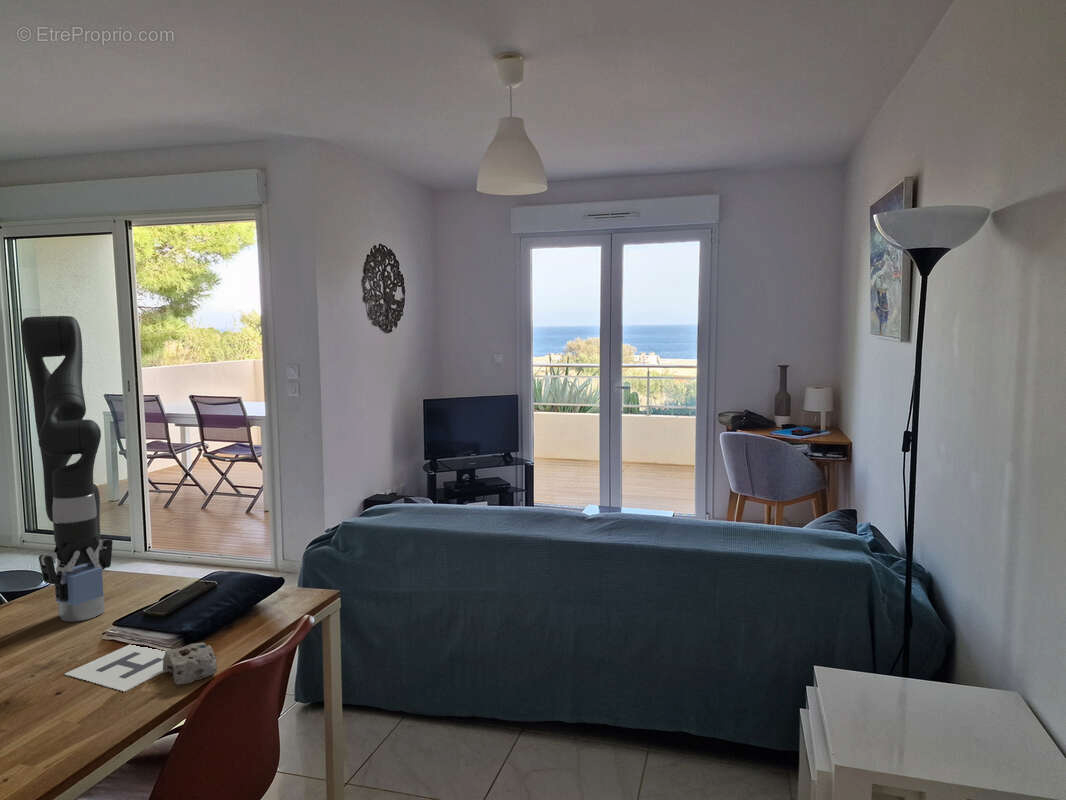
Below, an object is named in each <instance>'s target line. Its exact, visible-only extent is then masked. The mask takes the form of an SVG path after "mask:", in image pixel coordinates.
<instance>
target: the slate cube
mask: <svg viewBox="0 0 1066 800" xmlns="http://www.w3.org/2000/svg"><path fill="white" fill-rule="evenodd" d="M102 574H103V571H102V568H99V567H95V568H94V567H93V566H87V565H84V564H83V565H80V566H76V567H74V568H73V571H72V572H71V573H70V574H69V575H68V576H67V582H66V584H67V586H68V601H66V602H62V601H59V599H57V598H56V597H55V602H57V603H58V602H61V603H65V604H69V605H73V606H75V605H78V604H81V603H84V602H87V601H90V600H93V599H96V598H99V597H102V596H103V591H104V579H103V580H102ZM61 575H62V574H61ZM54 592H55V595H56V590H55V589H54Z"/></svg>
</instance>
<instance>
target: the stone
mask: <svg viewBox="0 0 1066 800" xmlns="http://www.w3.org/2000/svg"><path fill="white" fill-rule="evenodd" d="M165 650H166V651H165V656H164V657H163V671H165V672H164V673H173V674H172V678H173V681H174V684H175V685H177V686H179V685H184V684H190V683H193V682H195V681H196V680H197V681H200V680H202V679H204V678H207V677H210V676H213V675H214V674H216V673H217V672H218V664H217V662H218V660H217V658H216V656H215V653H214V650H213V648H212V646H211V645H209V644H208V645H207V643H205V642H202V641H201V642H198V643H197V642H196V643H190V644H188V645H184V646H182V647H179V648H174V649H165Z"/></svg>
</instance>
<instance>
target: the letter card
mask: <svg viewBox="0 0 1066 800" xmlns="http://www.w3.org/2000/svg"><path fill="white" fill-rule="evenodd" d="M131 644H132V643H130V644H127V645H126V646H122V647H121V648H119V649H117V650H114V651H112V652H110V653H108V654H106V655H103V656H101V657H98V658H97V659H94V660H92V661H90V662H88V663H86V664H83V665H81V666H78V667H76V668H74V669H72V670H69V671H68V672H65V673H63V674H64V676H67V677H70V676H71V678H74V677H75V679H77V678H78V680H81V679H82V680H81V681H84V680H86V681H85V682H88V681H89V682H88V683H91V682H92V684H95V683H96V684H95V685H98V684H99V686H101V685H102V687H105V688H109V689H112V688H113V689H112V690H115V689H116V691H119V690H120V691H119V692H122V691H123V693H126V692H128V691H129V690H131V689H134V688H135V686H136V687H138V686H140V685H142V684H143V682H144V683H146V682H148V681H150V680H151V679H153V678H155V677H157V676H159V675H162V674H163V673H166V672H165V671H163V657H164V656H165V651H161V650H158V649H152V648H148V647H140V646H136V645H131ZM149 679H150V680H149ZM147 680H148V681H147ZM145 681H146V682H145ZM141 683H142V684H141ZM139 684H140V685H139ZM125 691H126V692H125Z"/></svg>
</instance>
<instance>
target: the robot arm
mask: <svg viewBox="0 0 1066 800" xmlns="http://www.w3.org/2000/svg"><path fill="white" fill-rule="evenodd" d="M20 329H21V331H20V332H21V340H22V345H23V349H24V354H25V360H26V363H27V369H28V373H29V378H30V384H31V390H32V398H33V399H32V400H33V410H34V411H33V412H34V417H35V418H34V419H35V427H36V433H37V438H38V446H39V449H40V455H41V461H42V470H43V471H42V472H43V485H44V487H43V489H44V503H45V511H46V515H47V518H48V519H49V521H50V522H51V523H53V525H52V526H53V541H54V542H55V548H54V549H53V552H50V553H48V554H40V555H39V556H38V562H39V566H40V571H41V575H42V580H43V582H44V583H46V584H51V585H54V591H55V590H56V594H55V599H56V598H57V599H59V601H62V602H66V601H68V586H67V584H66V582H67V576H68V575H69V574H70V573H71V572H72V571H73V568H74V567H76V566H80V565H83V564H84V565H87V566H93V567H94V568H95V567H99V568H102V572H103V571H104V570H105V569H107V568H108V569H109V568H110V567H111V564H112V555H113V553H112V552H113V540H112V539H109V538H101V522H100V521H101V518H100V517H101V516H100V515H101V514H100V510H101V500H100V499H101V498H100V497H101V496H100V491H99V488H98V486H97V485H96V484H95V483H94V467H95V462H96V456H97V453H98V449H99V447H100V442H101V440H102V439H101V438H102V431H101V428H100V426H99V424H98V423H96V422H95V421H94V420H92V419H84V417H85V415H86V412H87V408H86V407H87V406H86V401H85V394H84V390H83V389H84V388H83V363H84V361H83V359H84V358H83V339H82V337H83V336H82V331H81V327H80V324H79V322H78V320H77V318H75V317H73V316H70V315H48V316H47V315H46V316H45V315H43V316H41V315H40V316H29V317H24V319H23V320H22V322H21V325H20ZM53 357H64V358H63V360H62V361H61V363H60V364H59V365H58V366H57V367H56V368H55V370H53V371H52V373H51V372H50V371H49V369H48V367H47V365H46V364H45V361H44V358H53ZM73 455H80V457H79V458H78V460H77V461H75V462H74V463H71V464H68V463H69V461H70V459H71V458H72V456H73ZM56 563H57V565H56V567H55V564H56ZM61 574H62V575H61ZM102 580H103V581H104V578H103V573H102ZM57 607H58V609H57V610H58V617H60V620H61V621H62V622H63V621H64V622H81V621H86V620H90V619H94V618H96V616H97V617H98V615H99V616H101V615H102V614H103V613H105V595H104V590H103V596H102V597H99V598H96V599H93V600H90V601H87V602H84V603H81V604H78V605H75V606H73V605H69V604H65V603H61V602H57ZM100 614H101V615H100Z"/></svg>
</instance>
